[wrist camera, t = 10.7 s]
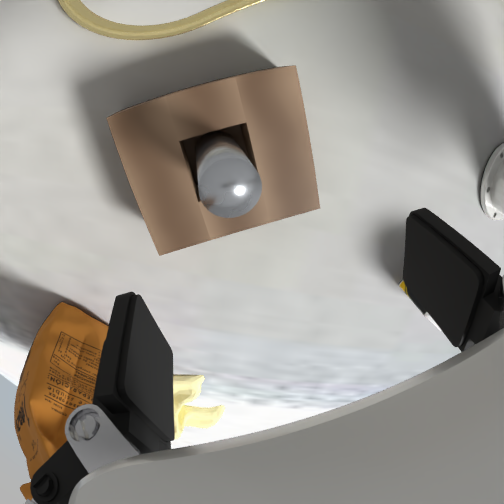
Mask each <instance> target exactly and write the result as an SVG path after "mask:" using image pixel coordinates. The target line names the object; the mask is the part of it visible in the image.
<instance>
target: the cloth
mask: <svg viewBox="0 0 504 504" xmlns="http://www.w3.org/2000/svg"><path fill="white" fill-rule="evenodd" d="M204 380H205V378H204V376H203V375H188V376H183V375H174V376H173V399H174V430H175V438H174V439H178V438H179V437H180V436H181V433H182V431H183V429H184V426H191V427H198V428H209V427H211V426H213V425H215V424H216V423H217V422H218V421H219V420H220V418H221V417H222V415H223V412H224V410H225V407H224V406H221V405H220V406H216V407H211V408H200V407H191V406H183V405H184V404H185V403H188V402H191V401H193V400H194V399H196V398H197V397H198V396H199V394H200V392H201V384H202V382H203V381H204Z"/></svg>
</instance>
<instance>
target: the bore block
mask: <svg viewBox="0 0 504 504" xmlns="http://www.w3.org/2000/svg"><path fill="white" fill-rule="evenodd" d="M107 121H108V124H109V127H110V130H111V133H112V136H113V139H114V142H115V145H116V148H117V150H118V153H119V156H120V159H121V162H122V164H123V167H124V170H125V172H126V175H127V178H128V180H129V183H130V186H131V188H132V191H133V193H134V196H135V198H136V201H137V203H138V206H139V208H140V211H141V213H142V216H143V218H144V221H145V223H146V225H147V228H148V230H149V233H150V235H151V237H152V240H153V242H154V244H155V247H156V249H157V251H158V254H159V256H160V255H164V254H167V253H170V252H173V251H176V250H180V249H183V248H186V247H190V246H193V245H196V244H199V243H203V242H206V241H209V240H213V239H216V238H219V237H223V236H226V235H229V234H233V233H236V232H239V231H243V230H246V229H250V228H253V227H256V226H260V225H263V224H267V223H270V222H274V221H277V220H281V219H284V218H288V217H291V216H295V215H298V214H302V213H305V212H309V211H312V210H316V209H319V208H320V204H319V196H318V189H317V182H316V175H315V168H314V162H313V156H312V149H311V143H310V137H309V132H308V126H307V120H306V115H305V109H304V104H303V99H302V94H301V89H300V84H299V79H298V74H297V69H296V65H295V66H283V67H275V68H269V69H264V70H259V71H254V72H249V73H245V74H240V75H236V76H231V77H227V78H223V79H219V80H215V81H211V82H207V83H204V84H200V85H196V86H193V87H189V88H186V89H183V90H179V91H176V92H173V93H170V94H167V95H163V96H160V97H157V98H154V99H152V100H149V101H146V102H143V103H140V104H137V105H135V106H132V107H129V108H127V109H124V110H121V111H119V112H117V113H115V114H113V115H111V116H109V117H107ZM216 130H217V131H224V132H226V133H228V134H230V135H231V136H232V137H233V138H234V140H235V141H236V142H237V144H238V145H239V147H240V148H241V149H242V151H243V152H244V153H245V155H246V156H247V158H248V159H249V160H250V162H251V163H252V165H253V166H254V167H255V169H256V170H257V172H258V173H259V175H260V178H261V182H262V192H261V196H260V198H259V200H258V202H257V204H256V205H255V206H254V207H253V208H252V209H251V210H250V211H249V212H247V213H246V214H244V215H241V216H239V217H234V218H223V217H219V216H216V215H214V214H212V213H211V212H210V211H208V210H207V209H206V208H205V206H204V205H203V204H202V202H201V199H200V196H199V188H198V177H197V166H196V153H195V149H196V145H197V142H198V141H199V139H200V138H201V137H202V136H203V135H204V134H206V133H208V132H212V131H216Z"/></svg>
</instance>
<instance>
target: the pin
mask: <svg viewBox="0 0 504 504" xmlns="http://www.w3.org/2000/svg"><path fill="white" fill-rule="evenodd" d="M195 153H196V166H197V177H198V188H199V196H200V199H201V202H202V204H203V205H204V206H205V208H206V209H207V210H208V211H210V212H211V213H212V214H214V215H216V216H219V217H223V218H234V217H239V216H241V215H244V214H246V213H247V212H249V211H250V210H251V209H252V208H253V207H254V206H255V205H256V204H257V202H258V200H259V198H260V196H261V192H262V182H261V178H260V175H259V173H258V172H257V170H256V169H255V167H254V166H253V165H252V163H251V162H250V160H249V159H248V158H247V156H246V155H245V153H244V152H243V151H242V149H241V148H240V147H239V145H238V144H237V142H236V141H235V140H234V138H233V137H232V136H231V135H230V134H228V133H226V132H224V131H217V130H216V131H212V132H208V133H206V134H204V135H203V136H202V137H201V138H200V139H199V141H198V142H197V145H196V149H195Z"/></svg>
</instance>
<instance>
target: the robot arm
mask: <svg viewBox="0 0 504 504" xmlns="http://www.w3.org/2000/svg"><path fill="white" fill-rule="evenodd" d="M481 205H482V208H483V211H484V212H485V214H486V215H487V216H488V217H489V218H491V219H492V220H496V221H498V220H502V219H504V143H503V144H501V145H500V146H499V147H498V148H497V149H496V150H495V151H494V152H493V154H492V155H491V157H490V159H489V161H488V163H487V165H486V168H485V171H484V174H483V178H482V183H481ZM500 270H501V268H500V267H499V266H498V265H497V264H496V263H494V262H493V261H492V260H491V259H490V258H489V257H488V256H486V255H485V254H484V253H483V252H482V251H480V250H479V249H478V248H477V247H476V246H474V245H473V244H472V243H471V242H470V241H468V240H467V239H466V238H465V237H463V236H462V235H461V234H460V233H458V232H457V231H456V230H455V229H453V228H452V227H451V226H449V225H448V224H447V223H446V222H444V221H443V220H442V219H440V218H439V217H438V216H436V215H435V214H434V213H432V212H431V211H429V210H428V209H426V208H422V209H418V210H415V211H412V212H410V214H409V217H407V220H406V240H405V257H404V270H403V281H404V284H405V286H406V287H407V288H408V289H409V291H410V292H411V293H412V294H413V295H414V297H415V298H416V299H417V300H418V301H419V303H420V304H421V305H422V306H423V308H424V309H425V310H426V311H427V312H428V314H429V315H430V316H431V317H432V319H433V320H434V321H435V323H436V324H437V325H438V326H439V328H440V329H441V330H442V331H443V333H444V334H445V335H446V337H447V338H448V339H449V341H450V342H451V343H452V345H453V346H455V347H458V348H459V349H460V350H461V353H459V354H458V355H456V356H454V357H452V358H450V359H448V360H446V361H445V362H443V363H441V364H439V365H437V366H435V367H433V368H431V369H429V370H427V371H425V372H423V373H421V374H418V375H416V376H414V377H412V378H410V379H408V380H405V381H403V382H401V383H399V384H397V385H394V386H392V387H390V388H387V389H385V390H383V391H380V392H378V393H375V394H373V395H370V396H368V397H365V398H363V399H360V400H358V401H355V402H352V403H350V404H347V405H344V406H342V407H339V408H336V409H333V410H330V411H327V412H324V413H321V414H318V415H315V416H312V417H309V418H306V419H302V420H299V421H296V422H292V423H289V424H286V425H282V426H278V427H275V428H271V429H267V430H263V431H259V432H255V433H251V434H247V435H243V436H238V437H234V438H229V439H224V440H219V441H214V442H209V443H204V444H199V445H193V446H188V447H182V448H175V449H171V442H170V441H173V440H174V438H175V430H174V399H173V353H172V350H171V347H170V346H169V344H168V342H167V341H166V339H165V337H164V336H163V334H162V332H161V331H160V329H159V327H158V325H157V324H156V322H155V320H154V318H153V317H152V315H151V313H150V311H149V309H148V308H147V306H146V304H145V302H144V300H143V299H142V297H141V296H140V295H139V294H138V295H135V293H134V292H129V293H125V294H122V295H118V296H116V298H115V302H114V306H113V310H112V314H111V319H110V323H109V327H108V331H107V336H106V340H105V341H104V344H103V348H102V353H101V358H100V363H99V368H98V373H97V378H96V384H95V389H94V395H93V401H92V404H85V405H82V406H79V407H78V408H76V409H75V410H74V411H73V412H72V413H71V414H70V415H69V417H68V419H67V421H66V425H65V435H66V438H67V441H66V442H65V443H64V444H63V445H62V446H61V447H60V448H59V449H58V450H57V451H56V452H55V453H54V454H53V455H52V456H51V457H50V458H49V459H48V460H47V461H46V462H45V463H44V464H43V465H42V466H41V467H40V468H39V469H38V470H37V471H36V472H35V474H34V475H33V477H32V480H31V485H30V490H31V495H32V497H33V498H32V500H30V499H27V501H26V503H25V504H504V276H503V277H501V276H500V275H499V274H500Z"/></svg>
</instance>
